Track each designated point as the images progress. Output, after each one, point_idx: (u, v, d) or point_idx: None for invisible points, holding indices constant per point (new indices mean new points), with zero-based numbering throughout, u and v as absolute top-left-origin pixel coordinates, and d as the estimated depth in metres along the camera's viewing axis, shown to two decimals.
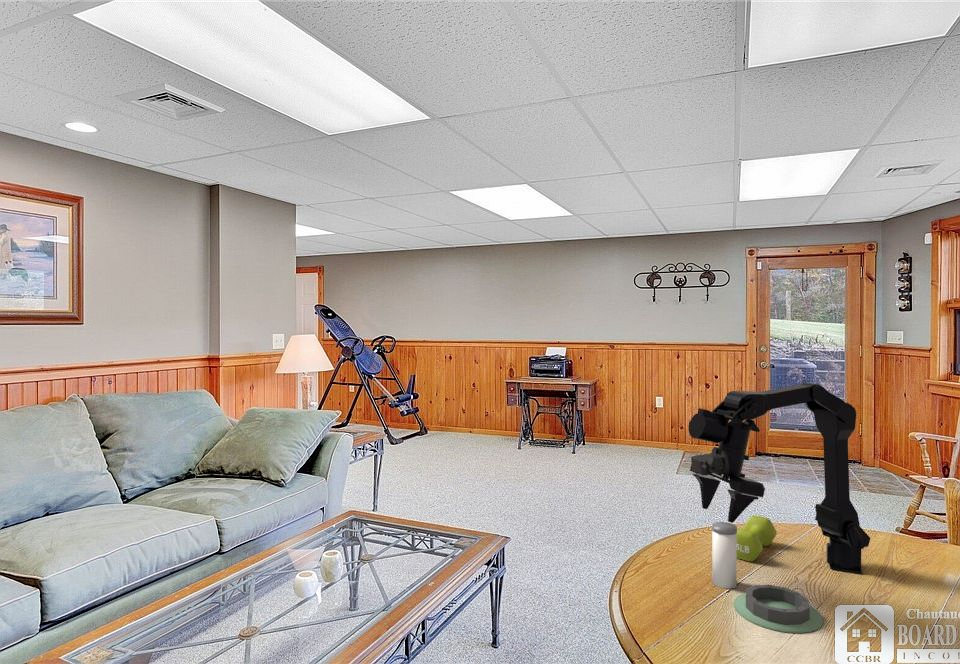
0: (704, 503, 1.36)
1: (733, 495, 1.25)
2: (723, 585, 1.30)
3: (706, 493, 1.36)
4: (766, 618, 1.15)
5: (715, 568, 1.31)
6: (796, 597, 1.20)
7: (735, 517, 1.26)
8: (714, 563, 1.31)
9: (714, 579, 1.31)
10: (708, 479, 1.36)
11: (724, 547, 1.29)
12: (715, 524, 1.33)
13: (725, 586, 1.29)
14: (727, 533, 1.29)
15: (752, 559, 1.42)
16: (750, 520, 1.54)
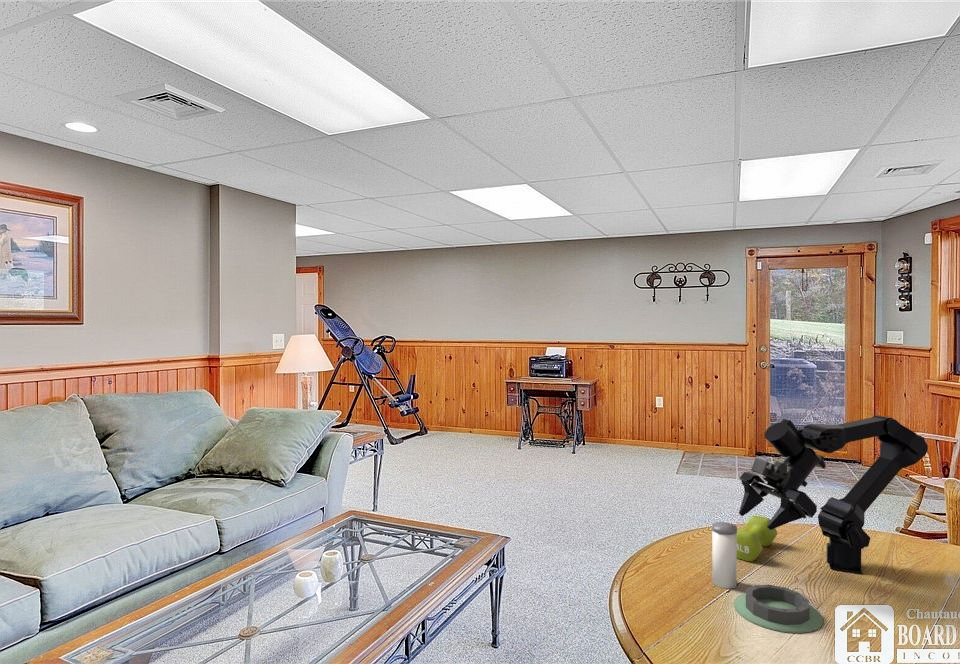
0: (742, 509, 1.38)
1: (785, 503, 1.27)
2: (723, 585, 1.30)
3: (747, 502, 1.38)
4: (766, 618, 1.15)
5: (716, 568, 1.31)
6: (796, 597, 1.20)
7: (775, 526, 1.29)
8: (714, 563, 1.31)
9: (714, 579, 1.31)
10: (755, 491, 1.39)
11: (724, 547, 1.29)
12: (714, 524, 1.33)
13: (725, 586, 1.29)
14: (727, 533, 1.29)
15: (752, 559, 1.42)
16: (751, 520, 1.54)
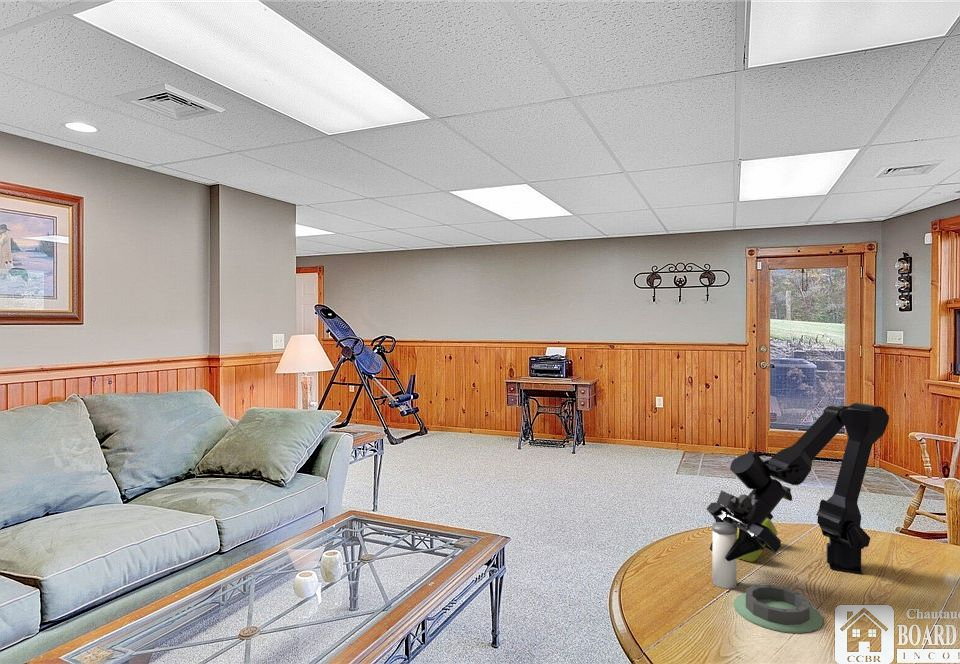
0: None
1: (743, 535, 1.27)
2: (722, 585, 1.30)
3: None
4: (766, 618, 1.15)
5: (715, 568, 1.31)
6: (796, 597, 1.20)
7: (733, 557, 1.28)
8: (714, 563, 1.31)
9: (714, 579, 1.31)
10: None
11: (724, 547, 1.29)
12: (715, 524, 1.33)
13: (725, 586, 1.29)
14: (727, 533, 1.29)
15: (753, 559, 1.42)
16: None
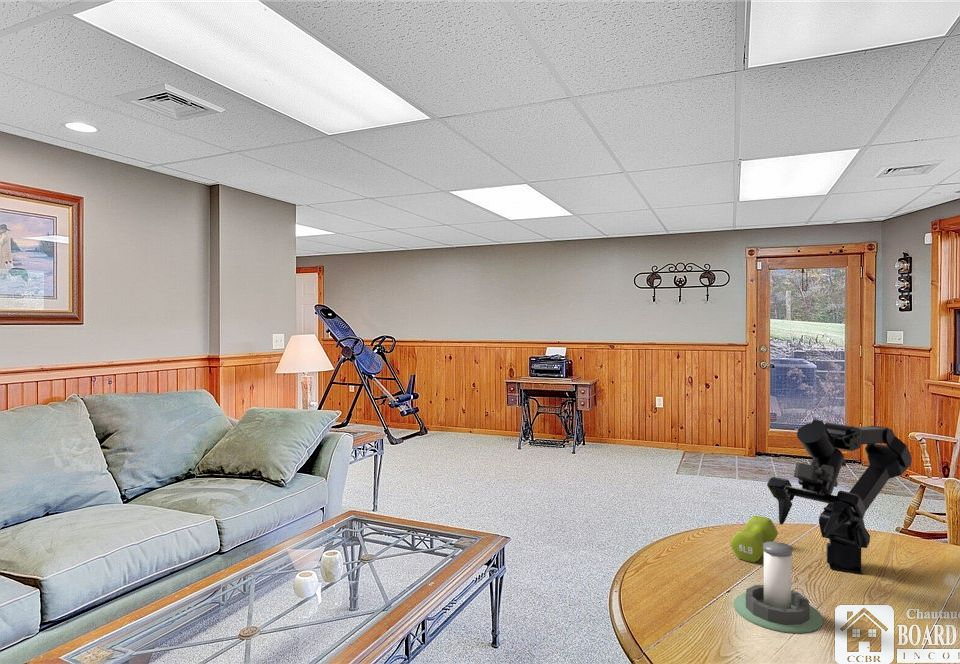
0: (782, 517, 1.31)
1: (840, 507, 1.24)
2: None
3: (784, 509, 1.32)
4: (766, 618, 1.15)
5: (773, 595, 1.17)
6: (796, 597, 1.20)
7: (830, 532, 1.24)
8: (770, 590, 1.17)
9: None
10: (787, 496, 1.34)
11: (783, 570, 1.16)
12: (766, 545, 1.19)
13: None
14: (787, 554, 1.16)
15: (755, 560, 1.42)
16: (751, 520, 1.54)
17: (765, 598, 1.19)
